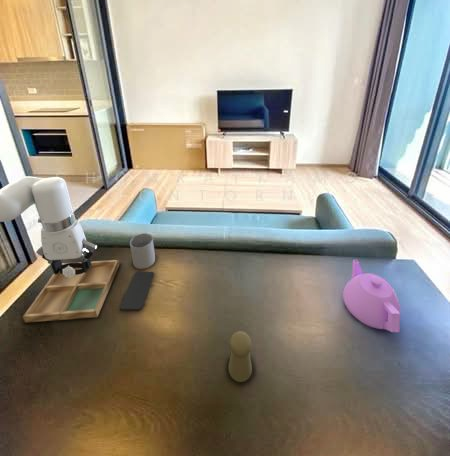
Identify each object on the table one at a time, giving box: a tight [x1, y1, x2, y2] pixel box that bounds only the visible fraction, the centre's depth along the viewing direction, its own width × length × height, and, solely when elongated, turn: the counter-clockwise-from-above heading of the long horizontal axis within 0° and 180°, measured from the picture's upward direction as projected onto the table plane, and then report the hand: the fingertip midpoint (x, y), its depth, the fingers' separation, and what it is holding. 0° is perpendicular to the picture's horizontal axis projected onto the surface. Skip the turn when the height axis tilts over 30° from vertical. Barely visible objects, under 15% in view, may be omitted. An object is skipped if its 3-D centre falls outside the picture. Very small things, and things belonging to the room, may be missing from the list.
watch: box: [59, 262, 84, 278], centre depth 75 cm, size 8×5×4 cm, turn 87°
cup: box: [129, 232, 156, 270], centre depth 97 cm, size 8×8×10 cm
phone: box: [119, 270, 155, 312], centre depth 86 cm, size 7×1×15 cm
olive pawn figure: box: [228, 330, 253, 383], centre depth 62 cm, size 6×6×11 cm
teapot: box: [342, 259, 402, 333], centre depth 77 cm, size 22×16×12 cm
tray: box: [22, 259, 120, 323], centre depth 86 cm, size 21×21×2 cm
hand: (73, 269), depth 75 cm, fingers closed on watch, 7 cm apart
